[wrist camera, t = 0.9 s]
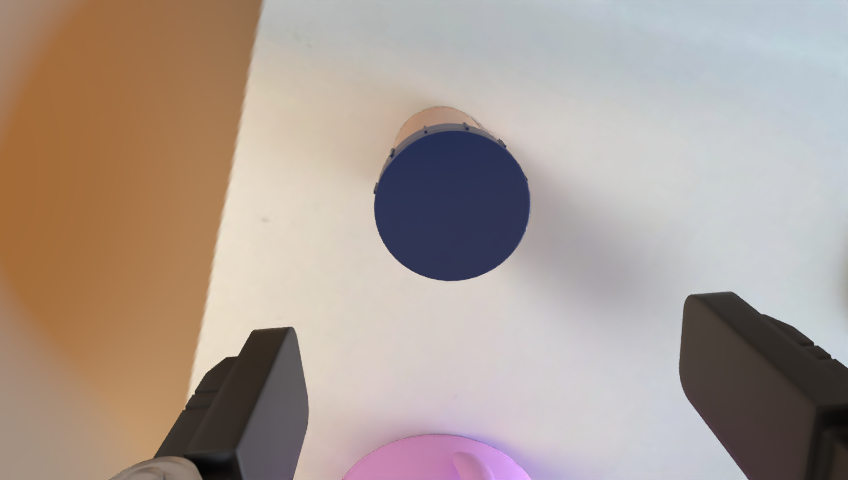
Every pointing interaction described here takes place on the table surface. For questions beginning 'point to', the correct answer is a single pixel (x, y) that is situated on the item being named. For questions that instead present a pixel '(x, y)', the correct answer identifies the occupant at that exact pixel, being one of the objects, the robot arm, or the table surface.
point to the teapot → (436, 461)
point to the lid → (451, 202)
